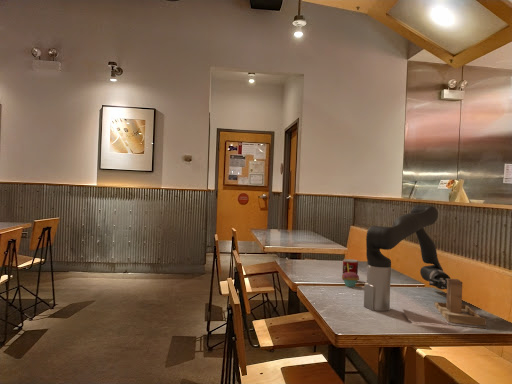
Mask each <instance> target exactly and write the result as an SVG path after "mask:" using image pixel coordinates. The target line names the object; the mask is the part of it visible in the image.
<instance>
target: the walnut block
mask: <svg viewBox="0 0 512 384" xmlns="http://www.w3.org/2000/svg"><path fill="white" fill-rule="evenodd" d="M445 303H446V308H447V309H448V310H449V311H450V312H454V313H462V305H463V282H462V281H461V280H460V279H459V278H451V279H448V278H447V289H446V302H445Z"/></svg>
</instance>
